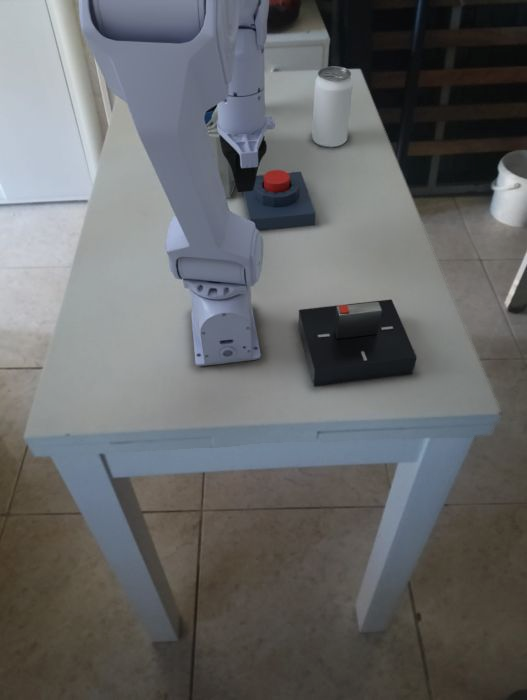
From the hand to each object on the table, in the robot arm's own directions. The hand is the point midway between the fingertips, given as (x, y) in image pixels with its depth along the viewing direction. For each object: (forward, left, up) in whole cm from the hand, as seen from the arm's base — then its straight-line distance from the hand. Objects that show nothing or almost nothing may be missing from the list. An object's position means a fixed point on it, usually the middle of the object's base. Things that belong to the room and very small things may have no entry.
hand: (244, 188), depth 76 cm
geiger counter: (+26, -1, -11) cm, 28 cm away
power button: (+11, -6, -7) cm, 14 cm away
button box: (+10, -6, -10) cm, 16 cm away
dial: (-21, -10, -7) cm, 25 cm away
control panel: (-22, -10, -10) cm, 26 cm away
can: (+30, -19, -11) cm, 37 cm away
